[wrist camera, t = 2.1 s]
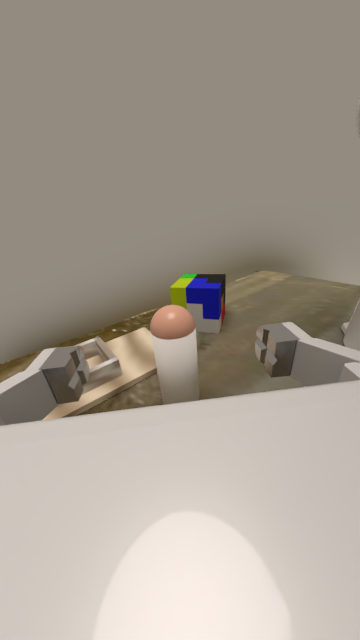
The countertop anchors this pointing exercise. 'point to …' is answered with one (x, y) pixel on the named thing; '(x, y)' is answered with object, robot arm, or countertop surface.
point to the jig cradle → (111, 370)
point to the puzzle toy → (201, 299)
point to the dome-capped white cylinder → (175, 354)
